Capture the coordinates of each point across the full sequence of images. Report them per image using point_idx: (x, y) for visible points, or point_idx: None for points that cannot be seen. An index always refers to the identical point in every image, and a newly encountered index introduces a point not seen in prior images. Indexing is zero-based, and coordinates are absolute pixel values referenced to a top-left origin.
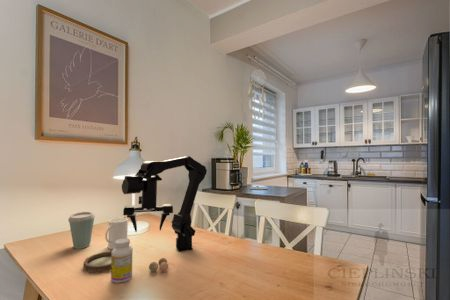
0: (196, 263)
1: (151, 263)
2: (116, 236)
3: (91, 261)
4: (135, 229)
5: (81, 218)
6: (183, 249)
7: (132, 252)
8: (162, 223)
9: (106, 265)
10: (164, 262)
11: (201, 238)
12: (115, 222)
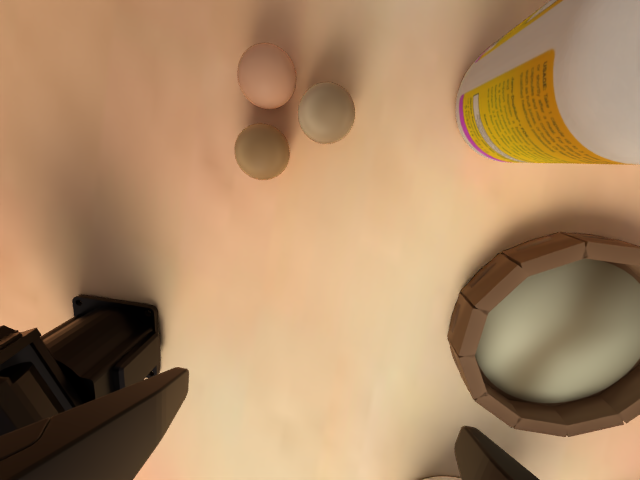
0: (78, 106)
1: (339, 106)
2: None
3: (621, 375)
4: (499, 452)
5: None
6: (124, 309)
7: (547, 48)
8: (74, 413)
9: (594, 243)
10: (254, 70)
11: None
12: None
